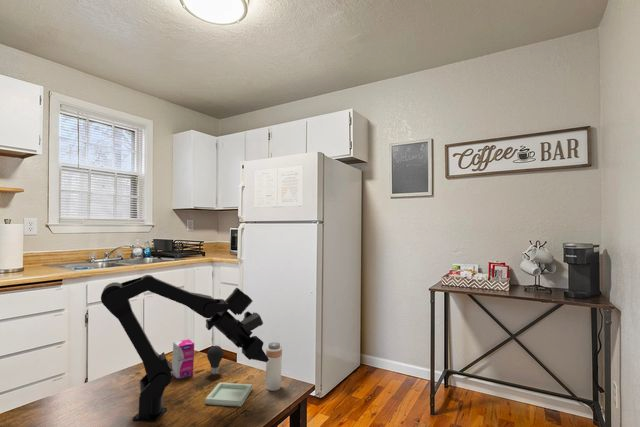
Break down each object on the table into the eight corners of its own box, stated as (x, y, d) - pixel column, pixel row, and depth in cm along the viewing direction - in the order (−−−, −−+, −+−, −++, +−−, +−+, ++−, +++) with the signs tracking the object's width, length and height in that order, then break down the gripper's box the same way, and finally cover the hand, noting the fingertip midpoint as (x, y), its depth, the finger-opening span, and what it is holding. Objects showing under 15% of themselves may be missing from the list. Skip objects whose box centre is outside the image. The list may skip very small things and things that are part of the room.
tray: (241, 406, 102) (241, 401, 102) (205, 404, 103) (205, 398, 103) (251, 389, 112) (252, 384, 113) (219, 387, 114) (219, 382, 114)
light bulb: (220, 377, 121) (220, 348, 121) (204, 377, 121) (205, 348, 121) (224, 371, 126) (225, 343, 127) (209, 370, 126) (210, 343, 127)
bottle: (279, 391, 112) (280, 347, 112) (263, 390, 112) (264, 346, 113) (282, 384, 117) (283, 342, 117) (267, 383, 117) (268, 341, 118)
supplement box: (176, 380, 118) (177, 346, 119) (171, 374, 123) (172, 341, 123) (193, 375, 122) (194, 342, 123) (187, 370, 127) (189, 338, 127)
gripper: (257, 312, 103) (290, 344, 108) (239, 300, 119) (268, 328, 124) (230, 343, 99) (266, 374, 104) (215, 326, 115) (247, 354, 120)
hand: (262, 356), depth 113 cm, fingers open, 9 cm apart
